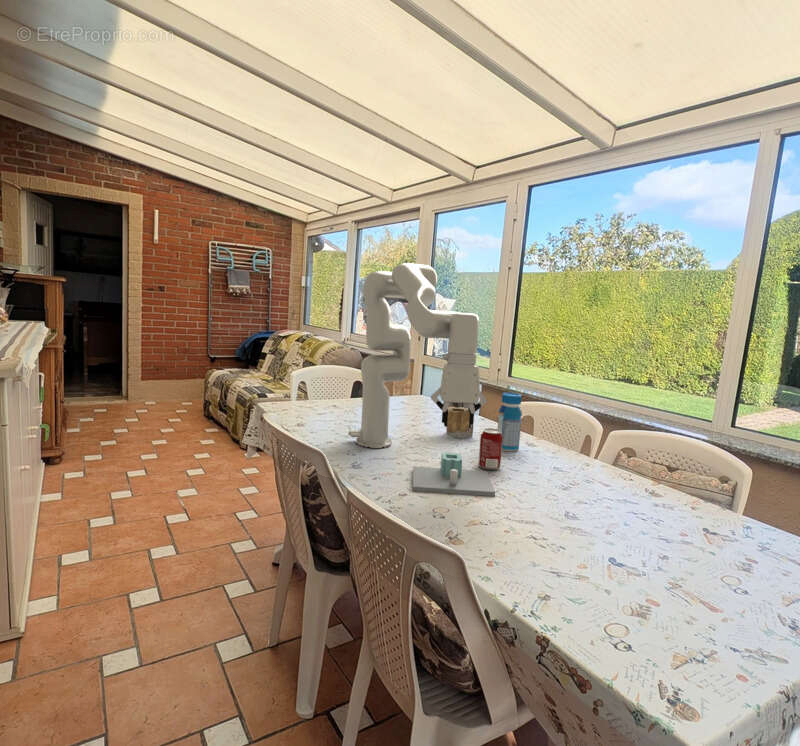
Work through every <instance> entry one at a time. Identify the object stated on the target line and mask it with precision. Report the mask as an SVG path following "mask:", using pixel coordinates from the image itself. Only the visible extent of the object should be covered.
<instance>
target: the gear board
mask: <svg viewBox="0 0 800 746" xmlns="http://www.w3.org/2000/svg"><path fill="white" fill-rule="evenodd" d="M491 481H492V480H491V479H490V476H489V473H488V472H487V471H486V470H476V469H474V470H473V469H463V458H462V455H461V453H458V452H452V453H450V452H448V451H444V452H441V460H440V467H429V466H428V467H427V466H426V467H425V466H414V465H413V468H412V491H413V492H425V493H442V494H454V495H455V494H456V495H472V496H484V497H485V496H486V497H487V496H488V497H496V490H495V487H494V485H493V484H492V482H491Z"/></svg>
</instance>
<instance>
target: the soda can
mask: <svg viewBox="0 0 800 746" xmlns="http://www.w3.org/2000/svg"><path fill="white" fill-rule="evenodd" d="M502 439H503V437H502V435H501V431H500V430H498V429H497V428H491V427H490V428H484V429H483V430H482V433H481V434H480V438H479V440H480V441H479V449H478V450H479V452H478V462H477V463H478V466H479V467H481V469H483V470H485V471H486V470H487V471H496V470H497V469H500V468H501V460H502V451H503V450H502Z"/></svg>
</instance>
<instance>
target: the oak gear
mask: <svg viewBox="0 0 800 746" xmlns="http://www.w3.org/2000/svg"><path fill="white" fill-rule="evenodd" d="M447 411H448V420H447V427H446V431H447V430H451V431H460V432H465V431H469V417H470V412H469V410H468V408H464V407H459V408H455V407H448V408H447Z"/></svg>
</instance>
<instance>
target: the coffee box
mask: <svg viewBox="0 0 800 746" xmlns="http://www.w3.org/2000/svg"><path fill="white" fill-rule="evenodd" d="M475 404H476V403H474V404H473V405H475ZM448 407H455V408H459V407H464V408H468V410H469V406H468V404H466V403H450V404H449V406H448ZM474 421H475V416H474V417H473V425H472V424H471V428H469V431H465V432H460V431H451V430H447V429H446V433H445V434H447V435H450V436H452V437H456V438H458V439H460V440H461V439H470V438H473V433H474V423H475V422H474Z"/></svg>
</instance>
